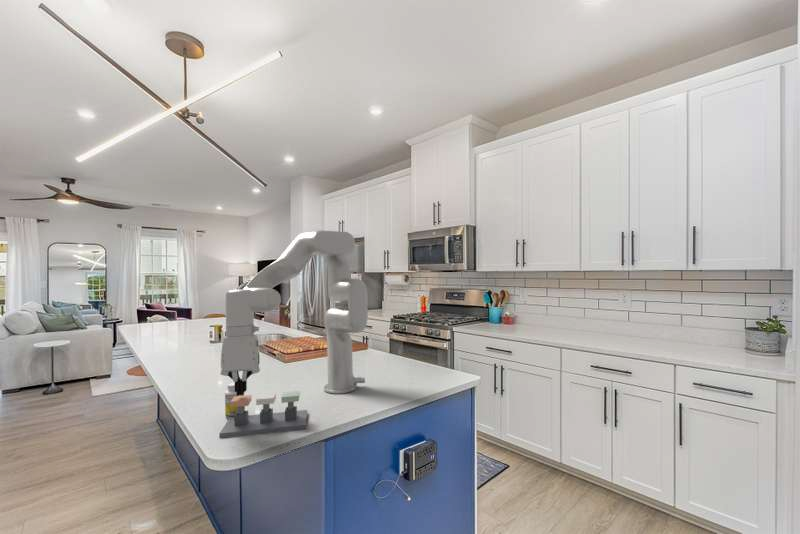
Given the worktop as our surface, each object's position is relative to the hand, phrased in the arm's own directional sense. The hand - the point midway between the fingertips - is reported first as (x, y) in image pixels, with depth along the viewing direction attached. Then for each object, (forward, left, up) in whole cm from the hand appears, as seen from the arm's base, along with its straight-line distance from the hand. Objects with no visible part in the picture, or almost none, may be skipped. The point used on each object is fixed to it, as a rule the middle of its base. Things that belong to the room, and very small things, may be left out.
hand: (240, 393), depth 109 cm
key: (0, 0, -6) cm, 6 cm away
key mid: (-7, 0, -6) cm, 9 cm away
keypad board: (-7, 0, -10) cm, 12 cm away
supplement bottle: (+4, -10, -10) cm, 15 cm away
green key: (-14, 0, -6) cm, 15 cm away
